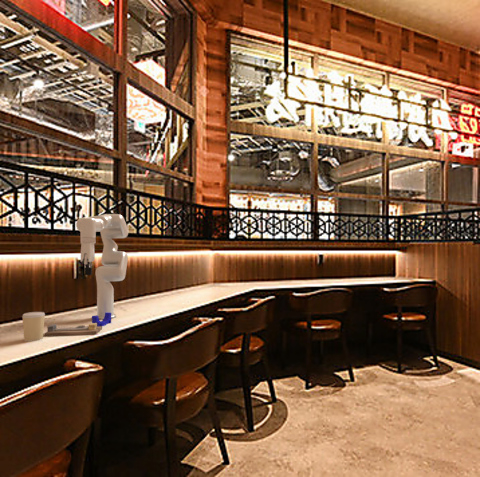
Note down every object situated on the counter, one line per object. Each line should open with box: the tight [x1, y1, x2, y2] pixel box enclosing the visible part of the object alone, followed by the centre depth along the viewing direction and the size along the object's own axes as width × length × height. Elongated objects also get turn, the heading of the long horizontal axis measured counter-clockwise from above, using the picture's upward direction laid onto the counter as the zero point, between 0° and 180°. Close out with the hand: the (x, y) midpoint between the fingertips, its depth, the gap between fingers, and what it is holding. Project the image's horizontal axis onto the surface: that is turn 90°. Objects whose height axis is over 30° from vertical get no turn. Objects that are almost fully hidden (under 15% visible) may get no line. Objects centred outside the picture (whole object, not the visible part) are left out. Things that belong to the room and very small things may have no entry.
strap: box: [55, 324, 89, 331], centre depth 186 cm, size 16×5×1 cm, turn 97°
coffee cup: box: [21, 311, 46, 342], centre depth 173 cm, size 9×9×12 cm
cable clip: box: [91, 312, 112, 327], centre depth 204 cm, size 12×4×6 cm, turn 160°
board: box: [44, 322, 103, 337], centre depth 186 cm, size 12×24×4 cm, turn 97°
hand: (88, 275), depth 197 cm, fingers closed
